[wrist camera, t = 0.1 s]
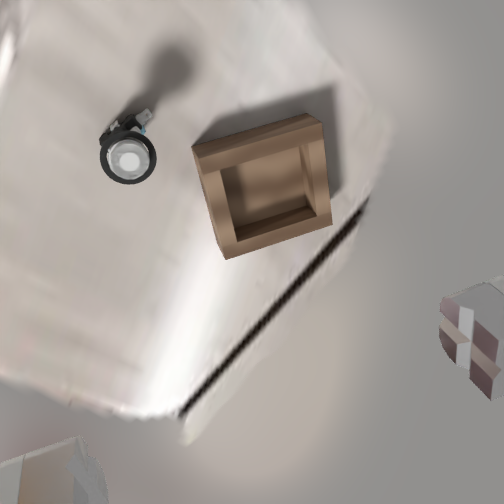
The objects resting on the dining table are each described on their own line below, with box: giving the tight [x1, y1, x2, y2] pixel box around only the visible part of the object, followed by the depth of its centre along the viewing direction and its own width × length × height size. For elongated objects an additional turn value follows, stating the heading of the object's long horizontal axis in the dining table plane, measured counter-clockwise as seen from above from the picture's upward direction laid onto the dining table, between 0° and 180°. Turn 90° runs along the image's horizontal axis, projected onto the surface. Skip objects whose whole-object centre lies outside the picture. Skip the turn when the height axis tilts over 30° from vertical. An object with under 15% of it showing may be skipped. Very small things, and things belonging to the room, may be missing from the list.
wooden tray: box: [191, 113, 333, 260], centre depth 60 cm, size 14×15×4 cm
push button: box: [99, 108, 157, 184], centre depth 49 cm, size 7×5×10 cm
